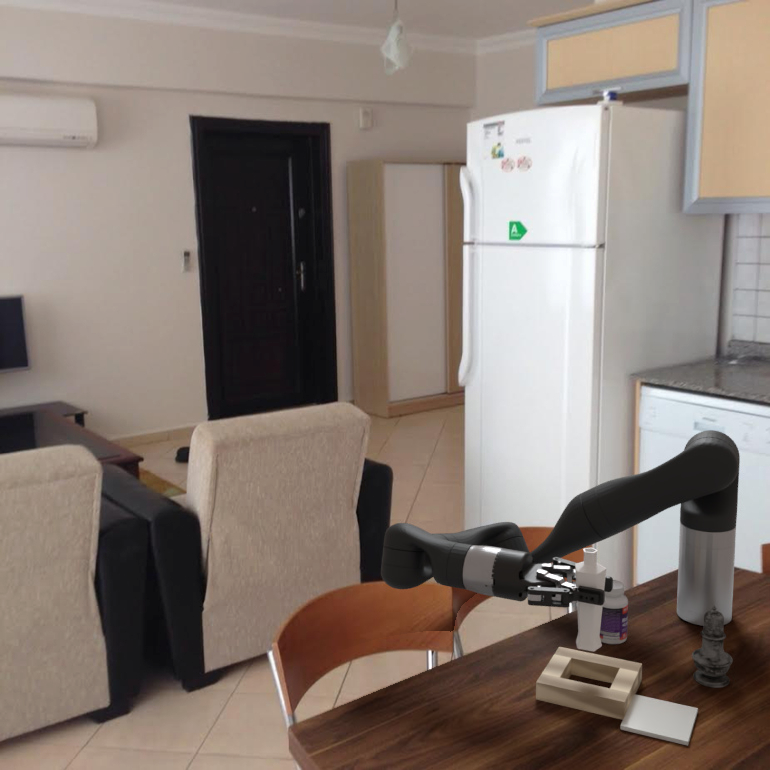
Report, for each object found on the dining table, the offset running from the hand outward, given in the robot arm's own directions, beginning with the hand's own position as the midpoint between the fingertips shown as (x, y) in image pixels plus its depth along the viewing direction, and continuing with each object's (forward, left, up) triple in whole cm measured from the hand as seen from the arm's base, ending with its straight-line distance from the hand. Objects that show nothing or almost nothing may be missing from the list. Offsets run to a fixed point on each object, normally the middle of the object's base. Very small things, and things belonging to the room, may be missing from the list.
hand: (607, 591), depth 126 cm
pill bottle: (-18, -3, -17) cm, 25 cm away
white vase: (0, -3, -9) cm, 10 cm away
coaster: (+4, +9, -16) cm, 19 cm away
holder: (0, -2, -16) cm, 17 cm away
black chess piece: (-11, +14, -17) cm, 24 cm away
